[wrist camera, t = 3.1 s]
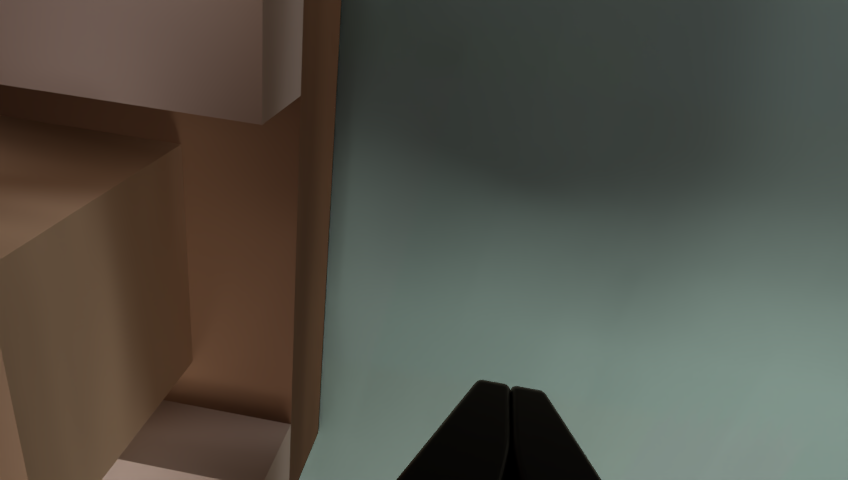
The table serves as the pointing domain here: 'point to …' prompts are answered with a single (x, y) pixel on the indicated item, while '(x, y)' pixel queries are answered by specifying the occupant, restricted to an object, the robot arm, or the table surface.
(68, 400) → the brown wooden cube
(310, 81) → the slot board
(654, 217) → the table surface
